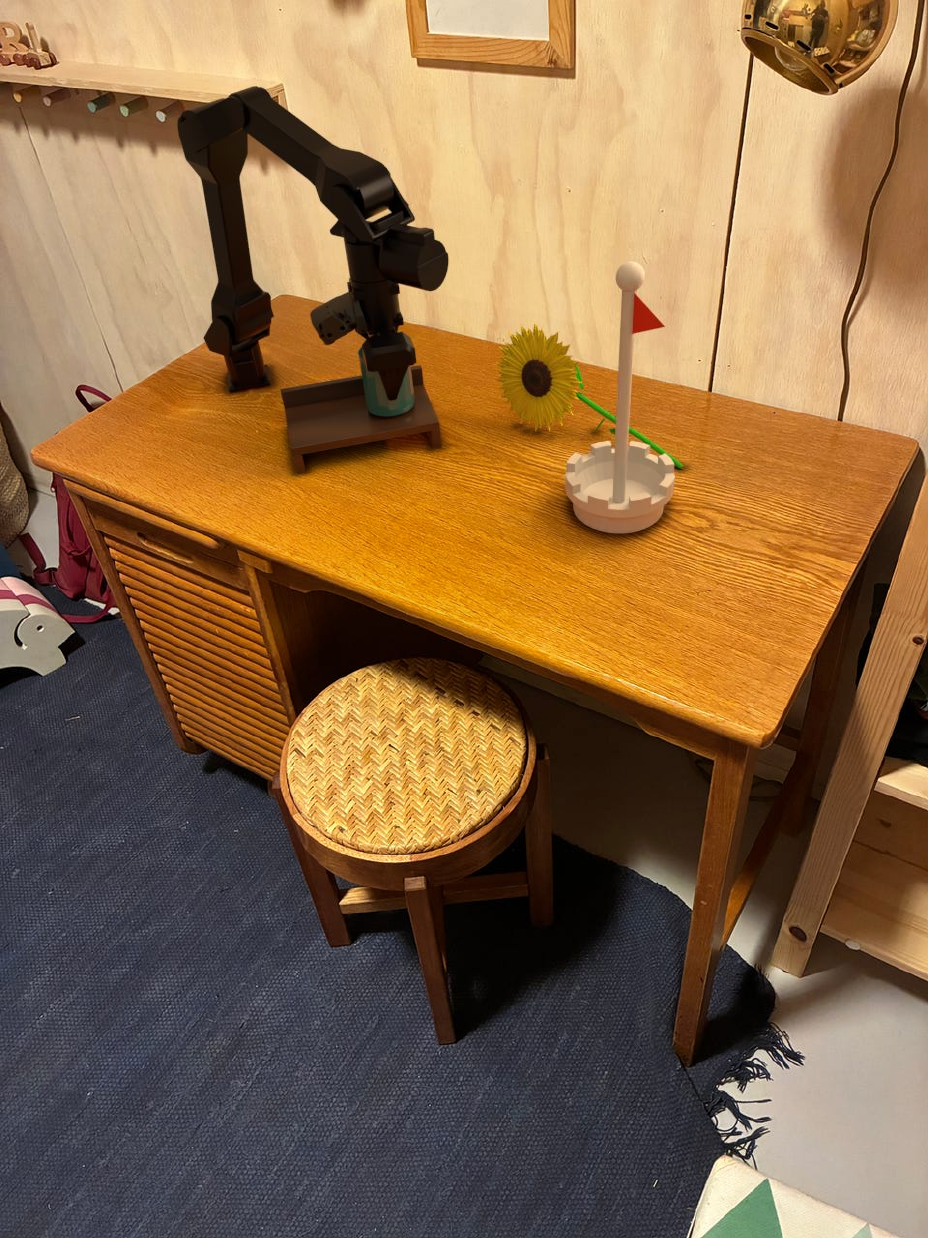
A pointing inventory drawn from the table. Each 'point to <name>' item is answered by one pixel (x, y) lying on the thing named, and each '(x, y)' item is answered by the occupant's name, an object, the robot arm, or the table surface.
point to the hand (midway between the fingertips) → (388, 387)
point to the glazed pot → (377, 395)
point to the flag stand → (622, 442)
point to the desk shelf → (350, 416)
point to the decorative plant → (546, 382)
